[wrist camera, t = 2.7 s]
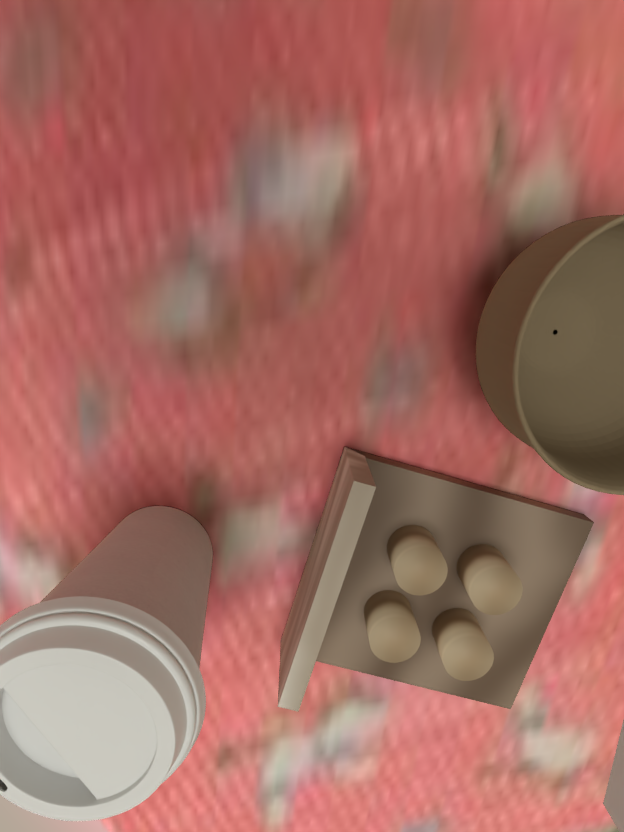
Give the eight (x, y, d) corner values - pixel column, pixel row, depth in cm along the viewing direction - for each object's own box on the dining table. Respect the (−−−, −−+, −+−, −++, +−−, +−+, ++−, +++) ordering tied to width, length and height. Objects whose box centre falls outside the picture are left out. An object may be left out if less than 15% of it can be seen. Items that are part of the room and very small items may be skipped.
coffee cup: (69, 493, 35) (-92, 647, 21) (223, 471, 35) (170, 610, 21) (104, 629, 38) (-19, 853, 23) (248, 609, 38) (217, 821, 23)
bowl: (583, 474, 36) (689, 547, 26) (410, 377, 34) (454, 418, 24) (708, 293, 33) (877, 300, 24) (528, 179, 32) (630, 136, 22)
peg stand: (280, 640, 38) (277, 706, 32) (344, 446, 35) (353, 480, 29) (504, 696, 40) (539, 768, 34) (584, 514, 36) (638, 560, 31)
